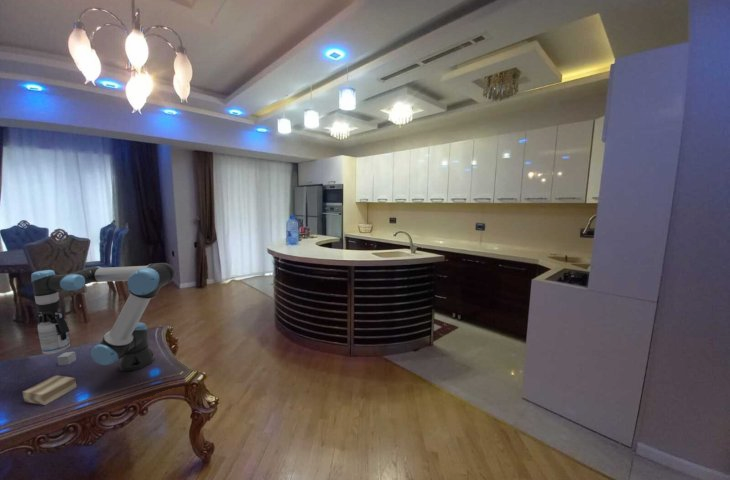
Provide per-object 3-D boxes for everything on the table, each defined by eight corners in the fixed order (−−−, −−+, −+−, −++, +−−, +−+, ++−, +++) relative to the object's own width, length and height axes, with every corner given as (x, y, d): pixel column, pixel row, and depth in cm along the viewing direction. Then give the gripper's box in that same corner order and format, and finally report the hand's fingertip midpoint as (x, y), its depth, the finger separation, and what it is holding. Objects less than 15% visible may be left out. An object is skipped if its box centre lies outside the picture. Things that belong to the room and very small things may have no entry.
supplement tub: (66, 351, 137) (61, 323, 135) (38, 357, 132) (32, 328, 130) (73, 342, 145) (69, 316, 143) (47, 347, 140) (42, 320, 138)
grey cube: (76, 359, 159) (75, 351, 159) (68, 364, 155) (67, 356, 154) (66, 360, 159) (64, 352, 158) (58, 365, 154) (56, 357, 153)
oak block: (76, 387, 136) (75, 377, 135) (45, 404, 124) (43, 394, 123) (57, 384, 138) (55, 375, 137) (24, 401, 126) (22, 391, 125)
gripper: (74, 300, 136) (81, 343, 139) (41, 297, 141) (49, 338, 144) (55, 306, 129) (63, 351, 132) (20, 303, 133) (29, 346, 137)
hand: (55, 344), depth 138 cm, fingers closed on supplement tub, 10 cm apart
